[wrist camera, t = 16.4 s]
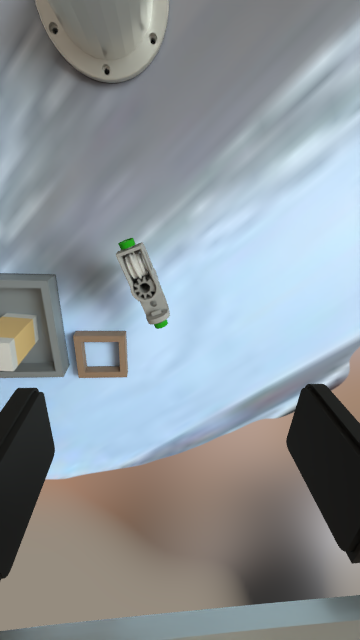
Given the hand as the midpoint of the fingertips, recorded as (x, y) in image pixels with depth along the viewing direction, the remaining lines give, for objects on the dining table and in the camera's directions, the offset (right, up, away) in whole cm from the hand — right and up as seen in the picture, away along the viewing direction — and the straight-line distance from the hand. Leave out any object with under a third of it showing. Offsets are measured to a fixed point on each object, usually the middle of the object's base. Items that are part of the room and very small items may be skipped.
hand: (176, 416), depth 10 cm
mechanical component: (-5, +11, +28) cm, 31 cm away
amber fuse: (-23, +3, +30) cm, 37 cm away
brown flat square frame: (-12, -2, +33) cm, 35 cm away
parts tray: (-23, +3, +30) cm, 38 cm away
